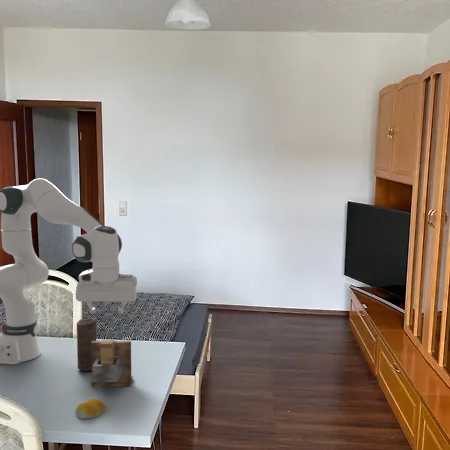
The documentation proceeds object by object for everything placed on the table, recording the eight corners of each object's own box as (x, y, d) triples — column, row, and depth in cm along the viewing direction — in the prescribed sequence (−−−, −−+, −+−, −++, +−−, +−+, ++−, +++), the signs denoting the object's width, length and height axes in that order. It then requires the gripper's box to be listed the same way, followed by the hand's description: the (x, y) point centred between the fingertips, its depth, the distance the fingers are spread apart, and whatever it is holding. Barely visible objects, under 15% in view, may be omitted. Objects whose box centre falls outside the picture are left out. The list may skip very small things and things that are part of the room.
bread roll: (109, 410, 159) (109, 399, 159) (87, 422, 152) (87, 410, 152) (93, 403, 164) (93, 392, 163) (71, 414, 157) (70, 402, 156)
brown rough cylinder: (91, 374, 185) (90, 323, 182) (73, 372, 186) (72, 322, 184) (100, 366, 192) (99, 317, 190) (83, 364, 194) (82, 316, 191)
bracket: (85, 398, 167) (84, 353, 164) (95, 379, 181) (94, 337, 179) (126, 398, 167) (125, 353, 165) (132, 379, 182) (132, 337, 179)
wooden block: (103, 371, 172) (102, 339, 170) (114, 371, 172) (114, 339, 170) (100, 377, 168) (100, 343, 166) (112, 377, 168) (112, 343, 166)
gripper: (138, 272, 168) (138, 310, 170) (78, 271, 168) (79, 310, 170) (135, 276, 162) (135, 316, 164) (73, 276, 162) (74, 316, 164)
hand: (106, 313), depth 167 cm, fingers open, 8 cm apart
